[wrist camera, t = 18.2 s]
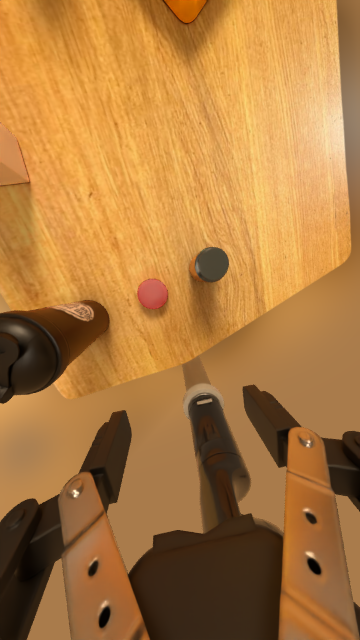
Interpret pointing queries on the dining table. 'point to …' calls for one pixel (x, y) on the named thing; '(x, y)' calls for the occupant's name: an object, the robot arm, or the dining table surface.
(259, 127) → the dining table surface
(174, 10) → the element tile
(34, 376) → the water bottle
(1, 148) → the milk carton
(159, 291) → the jar lid
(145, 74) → the dining table surface
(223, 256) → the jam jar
